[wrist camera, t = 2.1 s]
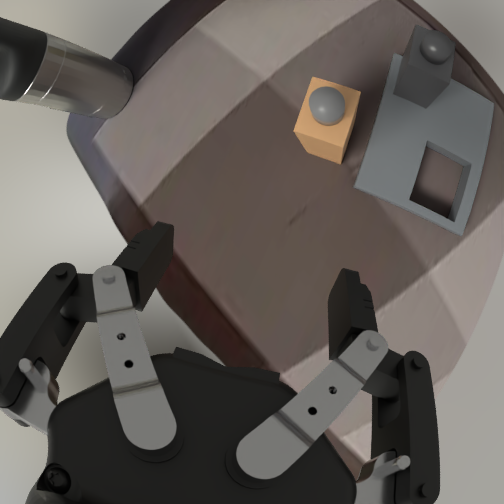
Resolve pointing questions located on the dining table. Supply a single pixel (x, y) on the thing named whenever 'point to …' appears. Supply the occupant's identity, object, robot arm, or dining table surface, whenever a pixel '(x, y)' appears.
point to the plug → (327, 119)
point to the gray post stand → (426, 129)
